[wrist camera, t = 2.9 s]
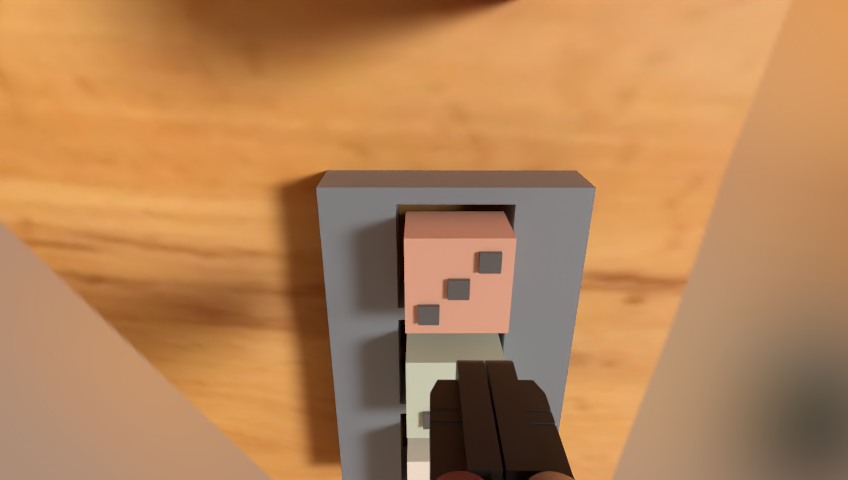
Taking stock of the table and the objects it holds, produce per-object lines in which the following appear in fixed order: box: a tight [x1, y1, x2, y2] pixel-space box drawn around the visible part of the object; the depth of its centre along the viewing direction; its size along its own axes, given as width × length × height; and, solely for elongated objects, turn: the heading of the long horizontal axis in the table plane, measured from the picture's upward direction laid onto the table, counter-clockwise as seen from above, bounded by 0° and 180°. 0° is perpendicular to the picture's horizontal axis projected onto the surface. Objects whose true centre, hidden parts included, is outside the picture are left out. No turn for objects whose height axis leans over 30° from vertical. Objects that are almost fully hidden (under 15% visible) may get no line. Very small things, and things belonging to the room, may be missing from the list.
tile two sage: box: [406, 333, 505, 438], centre depth 21 cm, size 4×4×3 cm
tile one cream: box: [407, 438, 430, 480], centre depth 23 cm, size 4×4×3 cm
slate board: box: [316, 171, 596, 480], centre depth 23 cm, size 11×17×2 cm, turn 0°
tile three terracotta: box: [404, 211, 517, 333], centre depth 19 cm, size 4×4×3 cm
